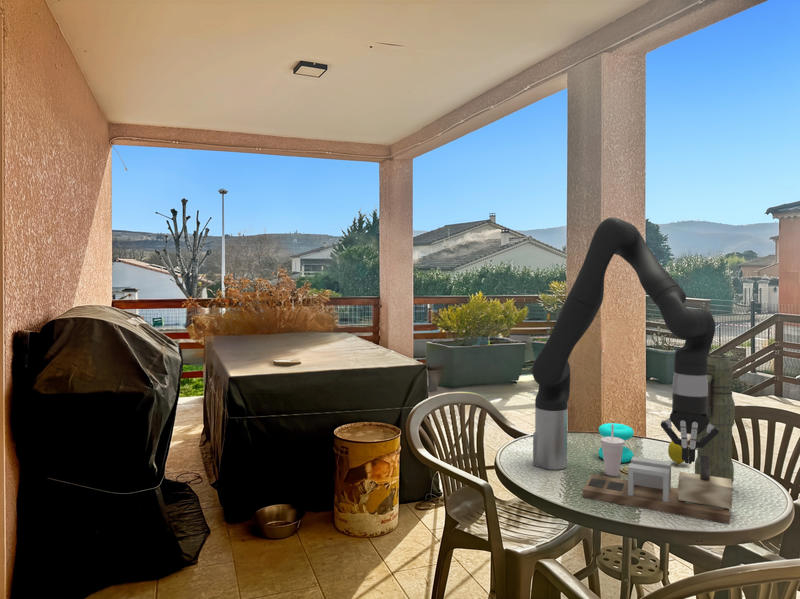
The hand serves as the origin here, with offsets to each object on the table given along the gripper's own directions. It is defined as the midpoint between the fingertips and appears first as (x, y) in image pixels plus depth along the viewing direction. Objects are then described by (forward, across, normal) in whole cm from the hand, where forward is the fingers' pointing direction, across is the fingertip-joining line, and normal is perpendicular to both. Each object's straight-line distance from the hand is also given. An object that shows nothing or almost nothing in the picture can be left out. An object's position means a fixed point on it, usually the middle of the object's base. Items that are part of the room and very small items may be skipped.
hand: (688, 462), depth 133 cm
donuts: (+11, +20, -29) cm, 37 cm away
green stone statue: (+11, -6, -17) cm, 21 cm away
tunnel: (+9, +8, 0) cm, 12 cm away
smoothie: (+11, +19, -15) cm, 27 cm away
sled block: (+8, -4, 0) cm, 9 cm away
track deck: (+11, +7, 0) cm, 13 cm away
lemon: (+11, +3, -32) cm, 34 cm away
